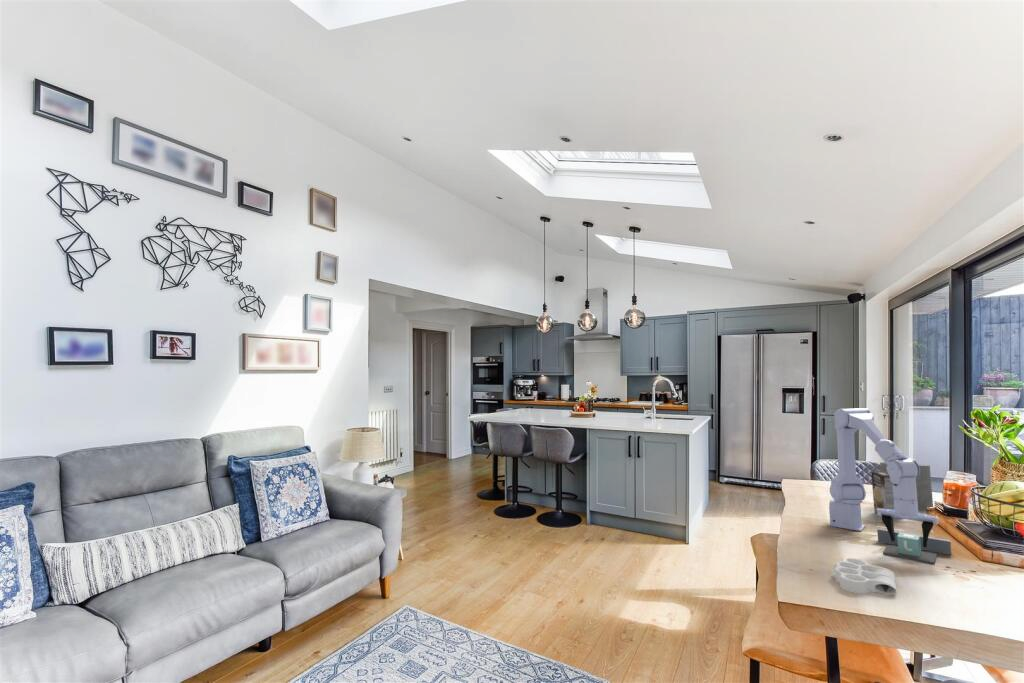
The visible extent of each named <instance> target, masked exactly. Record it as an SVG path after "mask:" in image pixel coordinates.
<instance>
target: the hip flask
mask: <svg viewBox="0 0 1024 683" xmlns="http://www.w3.org/2000/svg"><path fill="white" fill-rule="evenodd" d="M879 463H880V464H879V465H880V471H887V469H886V467H887V464H886V463H885V462H884V461H880V462H879ZM918 465H919V467H920V475H919V476H918V477H917V478H916V490H917V502H918V511H919V510H920V511H928V510H927V507H933V508H934V502H933V489H932V487H933V486H932V476H931V467H930V465H929V464H919V463H918Z"/></svg>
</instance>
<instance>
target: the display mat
mask: <svg viewBox="0 0 1024 683" xmlns="http://www.w3.org/2000/svg"><path fill="white" fill-rule="evenodd" d="M882 555H885V556H890V557H894V558H901V559H904V560H909V561H915V562H920V563H926V564H929V565H935V563H936V560H937V557H938V553H937V552H932V551H926V550H921V554H920V557H917V556H912V555H907V554H902V553H898V545H894V544H887V545H886V547H885V548H884V550H883V551H882Z"/></svg>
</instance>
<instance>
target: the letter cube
mask: <svg viewBox="0 0 1024 683" xmlns="http://www.w3.org/2000/svg"><path fill="white" fill-rule="evenodd" d="M898 532H899V534H898V536H897V541H898V545H897V546H898V553H902V554H907V555H912V556H917V557H920V554H921V551H922V550H921V541H920V536H919V535H920V534H916V535H913V534H914V533H910V534H907V533H908V532H904V533H901V532H902V531H898Z"/></svg>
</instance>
